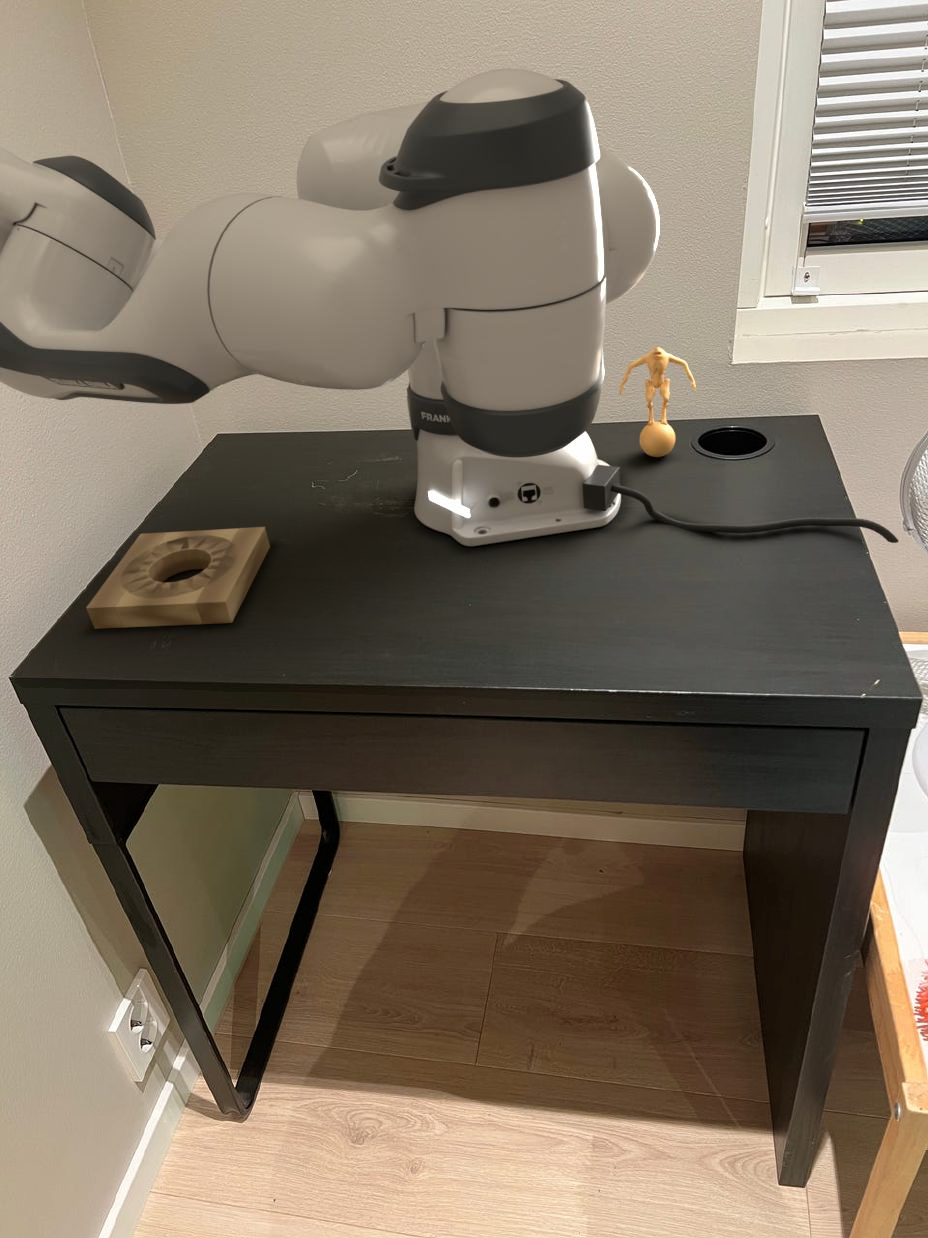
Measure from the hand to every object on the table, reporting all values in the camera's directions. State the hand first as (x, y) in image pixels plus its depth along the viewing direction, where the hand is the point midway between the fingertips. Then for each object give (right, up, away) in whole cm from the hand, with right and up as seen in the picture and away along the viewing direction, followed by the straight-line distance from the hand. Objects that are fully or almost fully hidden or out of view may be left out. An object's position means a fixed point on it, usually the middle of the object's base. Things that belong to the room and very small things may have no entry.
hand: (194, 339), depth 98 cm
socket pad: (0, -26, -4) cm, 26 cm away
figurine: (+51, -10, +9) cm, 53 cm away
